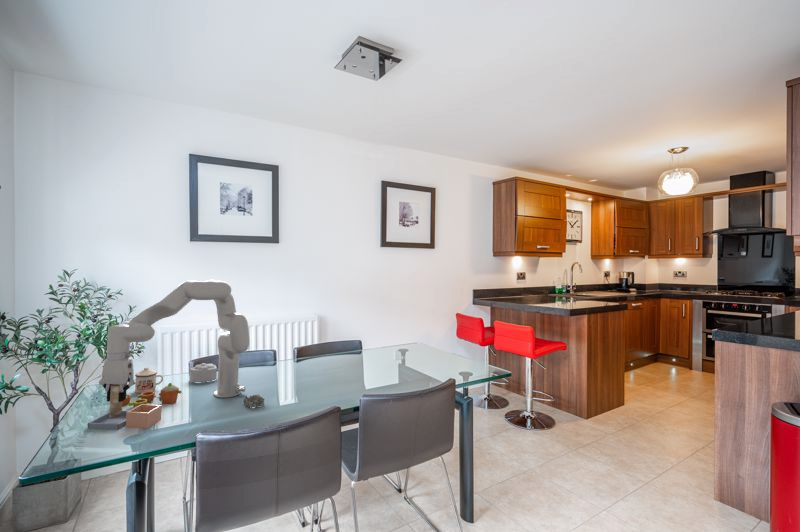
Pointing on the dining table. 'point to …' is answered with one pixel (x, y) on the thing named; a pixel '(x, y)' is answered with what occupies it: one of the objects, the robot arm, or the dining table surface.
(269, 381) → the dining table surface
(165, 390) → the toy tea set
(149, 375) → the teacup with lid
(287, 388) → the dining table surface
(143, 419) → the salmon pink open bin
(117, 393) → the dowel
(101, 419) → the tray
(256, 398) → the dark mottled rough lump
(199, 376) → the lumpy-topped squat cylinder
